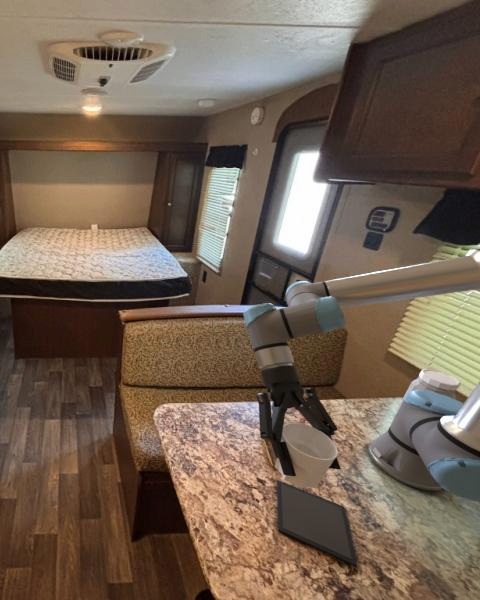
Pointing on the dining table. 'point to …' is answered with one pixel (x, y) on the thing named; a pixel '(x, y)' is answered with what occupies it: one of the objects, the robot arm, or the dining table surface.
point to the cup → (307, 454)
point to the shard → (270, 452)
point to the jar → (434, 383)
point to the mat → (314, 522)
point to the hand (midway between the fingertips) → (312, 471)
